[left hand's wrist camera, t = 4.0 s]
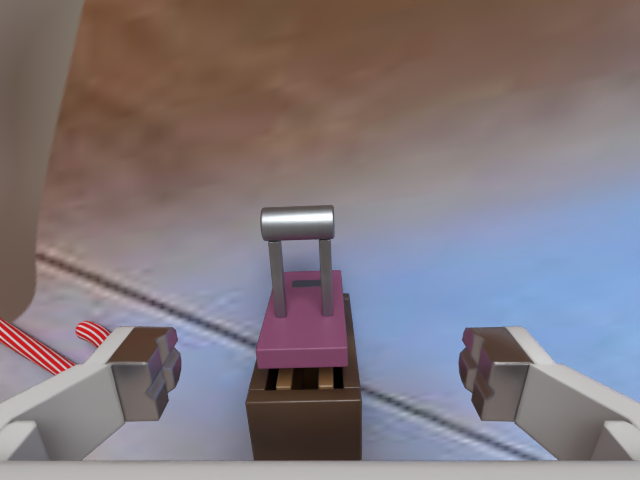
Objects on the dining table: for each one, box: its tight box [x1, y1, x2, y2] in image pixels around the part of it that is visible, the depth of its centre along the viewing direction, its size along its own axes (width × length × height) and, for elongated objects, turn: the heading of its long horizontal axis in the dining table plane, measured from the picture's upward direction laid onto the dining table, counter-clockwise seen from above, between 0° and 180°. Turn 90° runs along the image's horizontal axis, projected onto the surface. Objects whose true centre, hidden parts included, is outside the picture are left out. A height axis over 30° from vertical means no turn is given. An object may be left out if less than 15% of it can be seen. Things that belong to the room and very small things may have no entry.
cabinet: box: [245, 294, 362, 461], centre depth 26 cm, size 17×6×10 cm, turn 2°
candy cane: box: [0, 318, 111, 375], centre depth 28 cm, size 6×15×2 cm, turn 48°
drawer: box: [256, 205, 348, 390], centre depth 24 cm, size 22×4×9 cm, turn 2°
